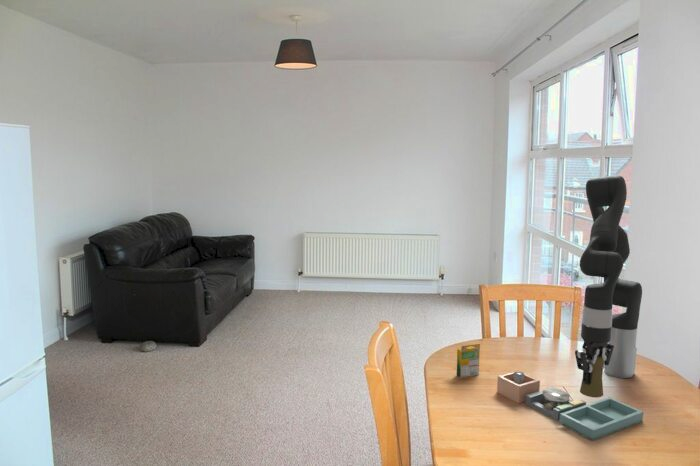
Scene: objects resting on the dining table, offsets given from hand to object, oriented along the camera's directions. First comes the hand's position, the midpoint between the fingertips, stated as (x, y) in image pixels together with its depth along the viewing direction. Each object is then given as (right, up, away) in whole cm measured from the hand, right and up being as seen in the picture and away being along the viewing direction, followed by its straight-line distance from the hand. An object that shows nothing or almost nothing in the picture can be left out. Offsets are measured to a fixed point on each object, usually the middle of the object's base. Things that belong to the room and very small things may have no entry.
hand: (592, 381), depth 155 cm
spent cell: (-14, -10, +21) cm, 27 cm away
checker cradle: (-6, -12, +12) cm, 18 cm away
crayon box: (-27, -8, +37) cm, 46 cm away
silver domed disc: (-6, -10, +12) cm, 17 cm away
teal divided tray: (+5, -13, +4) cm, 14 cm away
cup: (-14, -10, +21) cm, 28 cm away
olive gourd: (0, -3, +1) cm, 3 cm away
